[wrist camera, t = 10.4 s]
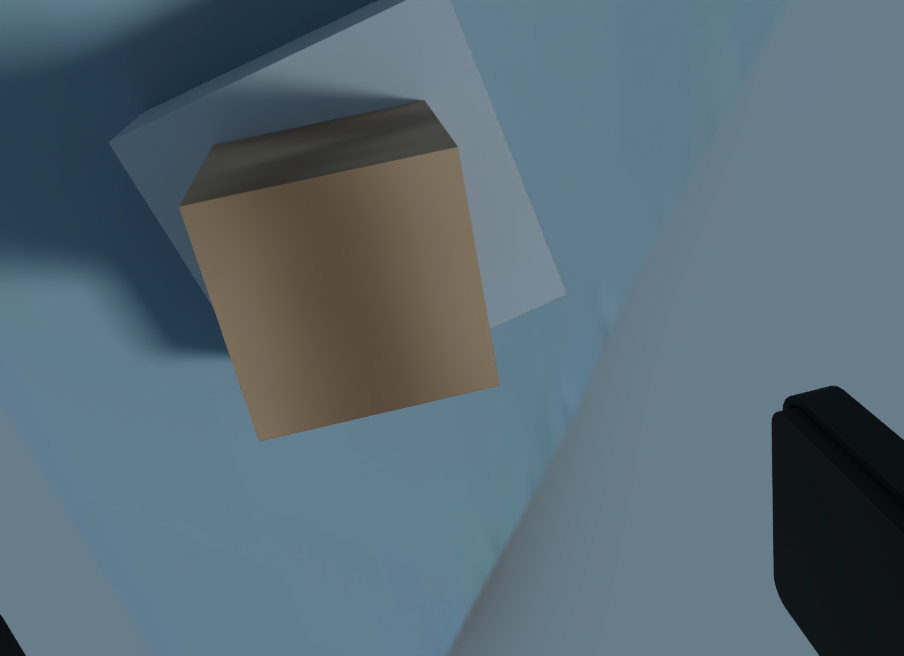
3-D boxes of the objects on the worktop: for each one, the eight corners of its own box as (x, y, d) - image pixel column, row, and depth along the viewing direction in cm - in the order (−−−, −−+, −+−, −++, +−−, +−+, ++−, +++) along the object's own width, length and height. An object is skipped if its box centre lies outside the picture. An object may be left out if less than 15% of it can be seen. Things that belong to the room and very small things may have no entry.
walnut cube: (424, 100, 23) (457, 146, 17) (461, 292, 25) (499, 385, 20) (212, 144, 22) (179, 207, 17) (272, 335, 25) (258, 441, 19)
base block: (421, -22, 26) (443, -18, 21) (529, 244, 30) (566, 293, 26) (144, 110, 26) (108, 142, 22) (290, 354, 31) (285, 422, 26)
